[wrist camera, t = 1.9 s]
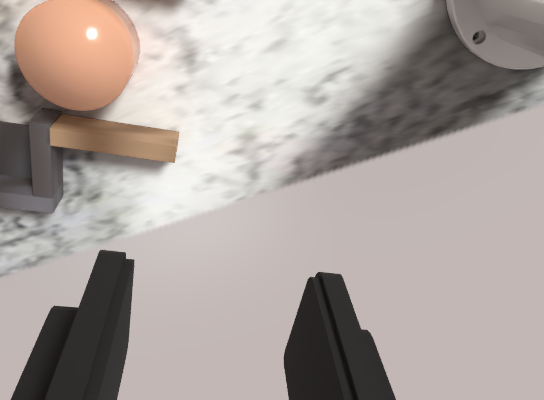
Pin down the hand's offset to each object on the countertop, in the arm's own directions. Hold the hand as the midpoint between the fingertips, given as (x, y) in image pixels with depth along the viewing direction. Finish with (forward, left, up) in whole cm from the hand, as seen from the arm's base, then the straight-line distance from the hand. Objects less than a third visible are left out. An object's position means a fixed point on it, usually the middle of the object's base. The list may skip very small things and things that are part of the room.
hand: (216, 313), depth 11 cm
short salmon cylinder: (+8, 0, -22) cm, 24 cm away
